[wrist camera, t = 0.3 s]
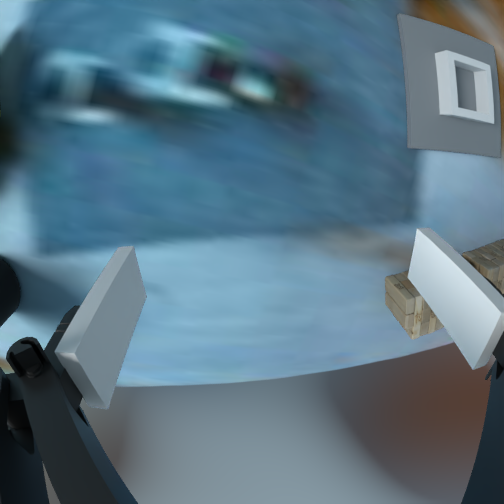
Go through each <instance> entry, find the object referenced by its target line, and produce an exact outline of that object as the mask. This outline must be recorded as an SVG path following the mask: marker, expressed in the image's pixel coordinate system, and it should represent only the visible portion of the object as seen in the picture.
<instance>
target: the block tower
mask: <svg viewBox="0 0 504 504" xmlns="http://www.w3.org/2000/svg"><path fill="white" fill-rule="evenodd" d="M463 258H464V259H465V260H466V261H468V262H469V263H470V264H471V265H472V266H473V267H474V268H475V269H476V270H477V271H478V272H479V273H480V274H481V275H483V276H484V277H486V278H488V279H489V280H490V281H491V282H492V283H493V284H494V285H495V286H496V287H497V288H498V289H499V290H500V291H501V292H502V294H504V239H502V240H500V241H499V240H498V241H495V242H494V243H491V244H488V245H485V247H484V246H483V247H480V248H478V249H475V250H473V251H470V252H469V251H467V252H464V253H463ZM408 273H409V271H405V272H402V273H399V274H396V275H390V276H387V277H386V278H385V289H386V291H387V292H386V293H385V298H386V305H387V306H388V308H389V309H390V310H391V312H392V313H393V315H394V316H395V318H396V319H397V320H398V321H399V323H400V324H401V326H402V327H403V328H404V329H405V330H406V332H407V334H408V335H409V336H410V338H411V339H416V338H419V337H420V336H423V335H426V334H429V333H432V332H434V331H435V330H439V329H441V328H443V327H444V326H443V324H442V323H441V322H440V320H439V319H438V317H437V316H436V315H435V313H434V312H433V310H432V309H431V308H430V306H429V305H428V304H427V302H426V301H425V300H424V298H423V297H422V296H421V294H420V293H419V292H418V290H417V289H416V288H415V286H414V285H413V284H412V283H411V281H410V280H409V279H408Z"/></svg>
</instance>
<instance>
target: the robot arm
mask: <svg viewBox="0 0 504 504" xmlns="http://www.w3.org/2000/svg"><path fill="white" fill-rule="evenodd" d="M408 279H409V280H410V281H411V283H412V284H413V285H414V286H415V288H416V289H417V290H418V292H419V293H420V294H421V296H422V297H423V298H424V300H425V301H426V302H427V304H428V305H429V306H430V308H431V309H432V310H433V312H434V313H435V315H436V316H437V317H438V319H439V320H440V322H441V323H442V324H443V326H444V327H445V329H446V330H447V332H448V333H449V334H450V336H451V337H452V339H453V340H454V342H455V343H456V345H457V346H458V347H459V349H460V351H461V352H462V354H463V355H464V357H465V358H466V360H467V361H468V363H469V365H470V366H471V368H472V369H473V370H474V369H477V368H479V367H482V366H485V365H486V364H487V362H488V361H489V359H490V357H491V355H492V354H493V355H494V356H495V358H496V361H495V362H494V364H493V366H492V367H491V369H490V370H489V372H488V374H487V375H486V378H485V380H487V379H488V378H489V376H490V375H492V377H491V385H490V393H489V400H488V405H487V411H486V417H485V422H484V427H483V432H482V436H481V440H480V444H479V449H478V452H477V456H476V460H475V463H474V467H473V470H472V473H471V477H470V480H469V483H468V486H467V489H466V492H465V494H464V497H463V500H462V503H461V504H504V294H502V292H501V291H500V290H499V289H498V288H497V287H496V286H495V285H494V284H493V283H492V282H491V281H490V280H489V279H488V278H486V277H484V276H483V275H481V274H480V273H479V272H478V271H477V270H476V269H475V268H474V267H473V266H472V265H471V264H470V263H469V262H468V261H466V260H465V259H464V258H463V257H462V256H461V255H460V254H459V253H458V252H457V251H456V250H455V249H453V248H452V247H451V246H450V245H449V244H448V243H447V242H446V241H444V240H443V239H442V238H441V237H440V236H439V235H438V234H436V233H435V232H434V231H433V230H432V229H431V228H417V232H416V238H415V243H414V249H413V254H412V259H411V263H410V268H409V273H408ZM146 297H147V296H146V292H145V288H144V285H143V281H142V277H141V273H140V270H139V266H138V262H137V258H136V254H135V249H134V246H127V247H118V249H117V250H116V252H115V253H114V254H113V256H112V257H111V259H110V260H109V262H108V263H107V265H106V266H105V268H104V269H103V271H102V273H101V274H100V276H99V277H98V279H97V280H96V282H95V283H94V285H93V287H92V288H91V290H90V291H89V293H88V295H87V296H86V298H85V299H84V301H83V303H82V304H81V306H74V307H73V308H72V309H71V310H69V311H68V312H67V313H66V314H65V316H64V317H63V319H62V321H61V322H60V325H59V326H58V327H57V329H56V332H54V334H53V336H52V337H51V339H50V341H49V343H48V344H47V346H46V348H45V350H43V349H42V347H41V345H40V343H39V342H38V340H37V339H36V338H33V337H25V338H22V339H20V340H18V341H17V342H15V343H14V344H13V345H12V346H11V347H10V348H9V350H8V352H7V355H6V360H7V361H8V363H9V364H10V366H11V367H12V369H13V370H14V372H15V373H10V374H5V373H4V372H3V370H2V369H1V367H0V504H49V499H48V494H47V489H46V483H45V477H44V471H43V463H44V466H45V468H46V471H47V473H48V476H49V478H50V481H51V483H52V486H53V488H54V490H55V492H56V494H57V496H58V499H59V501H60V503H61V504H138V503H137V501H136V500H135V498H134V497H133V495H132V494H131V493H130V491H129V490H128V488H127V487H126V485H125V484H124V482H123V481H122V479H121V478H120V476H119V475H118V473H117V471H116V470H115V468H114V467H113V465H112V463H111V461H110V460H109V458H108V456H107V455H106V453H105V451H104V450H103V448H102V446H101V444H100V442H99V441H98V439H97V437H96V435H95V433H94V431H93V429H92V428H91V426H90V424H89V422H88V420H87V418H86V416H85V414H84V412H83V410H82V409H81V407H80V406H79V405H80V402H81V400H82V397H83V398H84V400H85V401H86V403H87V404H88V406H89V407H94V408H102V409H108V408H109V405H110V401H111V398H112V395H113V391H114V388H115V385H116V382H117V379H118V376H119V373H120V370H121V367H122V364H123V361H124V358H125V355H126V352H127V349H128V346H129V343H130V341H131V338H132V335H133V332H134V329H135V327H136V324H137V321H138V319H139V316H140V313H141V310H142V308H143V305H144V303H145V300H146ZM42 461H43V462H42Z"/></svg>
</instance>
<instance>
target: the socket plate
mask: <svg viewBox="0 0 504 504" xmlns="http://www.w3.org/2000/svg"><path fill="white" fill-rule="evenodd" d="M397 20H398V26H399V32H400V40H401V47H402V56H403V65H404V75H405V88H406V105H407V137H408V148H415V149H428V150H440V151H450V152H459V153H468V154H476V155H484V156H491V157H498V158H500V156H501V116H500V97H499V85H498V75H497V67H496V59H495V53H494V46H492V45H490V44H488V43H486V42H483V41H481V40H479V39H476V38H474V37H471V36H469V35H466V34H464V33H461V32H459V31H456V30H453V29H450V28H447V27H445V26H442V25H439V24H436V23H432V22H429V21H426V20H423V19H419V18H416V17H412V16H408V15H404V14H398V15H397Z"/></svg>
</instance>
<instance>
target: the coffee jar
mask: <svg viewBox="0 0 504 504" xmlns="http://www.w3.org/2000/svg"><path fill="white" fill-rule="evenodd" d="M19 302H20V285H19V282H18V279H17V277H16V275H15V273H14V271H13V270H12V268H11V267H10V266H9V265H8V264H7V263H6V262H5V261H4V260H2V259H0V327H1V326H2V325H3V324H4V322H5V321H6V320H7V319H8V318H9V317H10V316H11V315H12V314H13V313H14V311H15V310H16V309H17V308H18V306H19Z"/></svg>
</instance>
